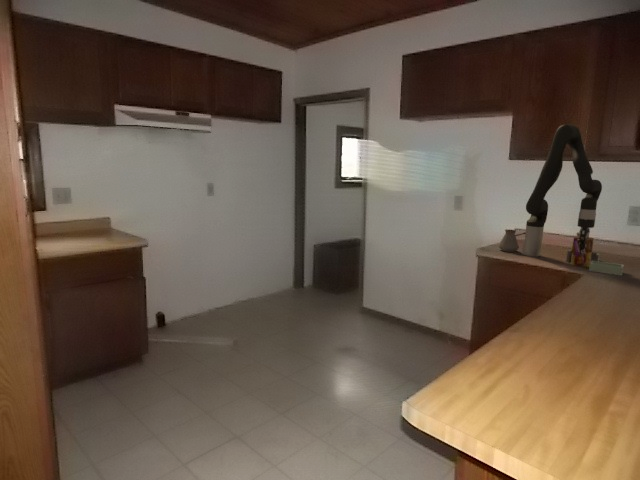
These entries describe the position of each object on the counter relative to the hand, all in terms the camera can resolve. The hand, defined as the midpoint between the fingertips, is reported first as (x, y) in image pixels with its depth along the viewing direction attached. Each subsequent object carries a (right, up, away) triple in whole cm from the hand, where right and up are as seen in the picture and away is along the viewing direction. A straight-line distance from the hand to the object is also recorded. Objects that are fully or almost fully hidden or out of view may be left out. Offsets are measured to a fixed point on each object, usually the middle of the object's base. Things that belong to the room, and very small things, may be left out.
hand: (582, 248), depth 226 cm
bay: (+5, -8, +8) cm, 12 cm away
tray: (+5, -11, -11) cm, 17 cm away
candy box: (0, -9, +2) cm, 9 cm away
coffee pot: (-19, -3, +34) cm, 39 cm away
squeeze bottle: (+12, -6, +24) cm, 27 cm away
